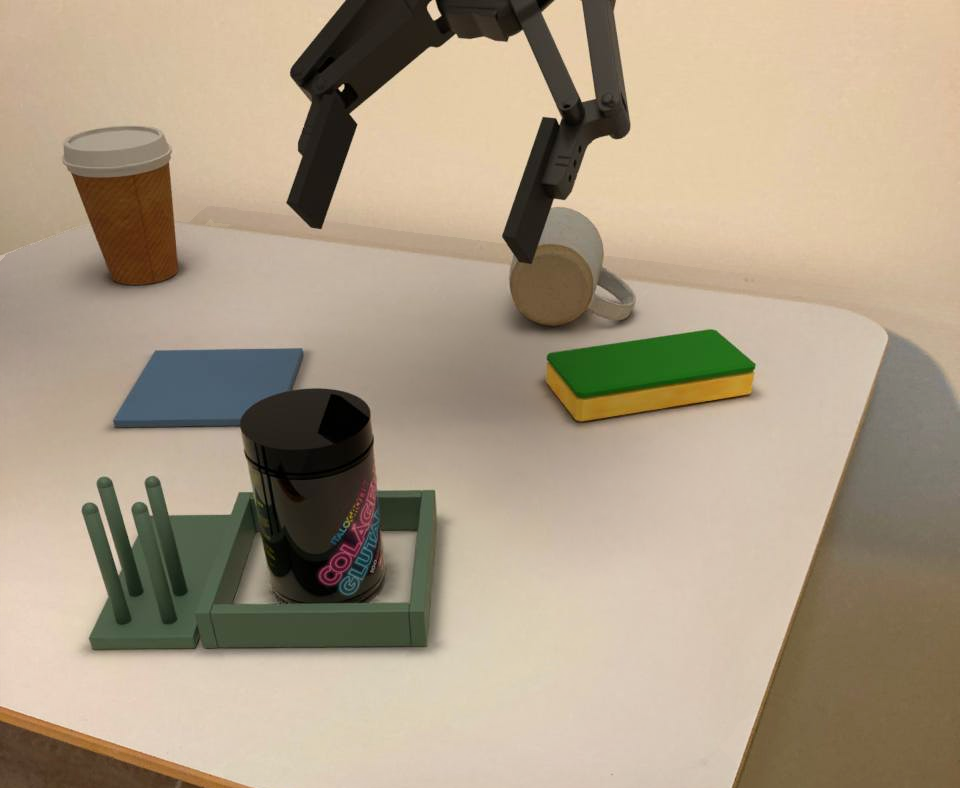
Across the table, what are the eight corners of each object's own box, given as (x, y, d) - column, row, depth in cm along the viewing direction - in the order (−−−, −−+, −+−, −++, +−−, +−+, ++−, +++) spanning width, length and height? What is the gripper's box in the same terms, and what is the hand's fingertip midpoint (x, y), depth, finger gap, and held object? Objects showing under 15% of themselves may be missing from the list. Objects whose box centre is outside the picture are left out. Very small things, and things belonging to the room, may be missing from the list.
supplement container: (304, 632, 56) (276, 463, 50) (249, 574, 61) (217, 412, 54) (409, 587, 59) (396, 422, 53) (349, 535, 64) (330, 376, 57)
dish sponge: (753, 395, 77) (758, 364, 75) (577, 424, 74) (578, 392, 72) (710, 356, 82) (714, 327, 80) (544, 382, 79) (545, 351, 78)
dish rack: (91, 649, 56) (48, 520, 50) (149, 525, 65) (117, 406, 60) (426, 646, 55) (417, 516, 50) (437, 522, 64) (430, 401, 59)
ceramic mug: (505, 329, 87) (507, 236, 82) (515, 292, 93) (516, 203, 88) (633, 335, 86) (642, 241, 81) (634, 297, 92) (642, 207, 87)
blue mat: (114, 427, 75) (112, 420, 75) (156, 357, 84) (155, 350, 84) (279, 425, 75) (278, 417, 74) (303, 354, 84) (302, 347, 84)
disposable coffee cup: (104, 258, 103) (71, 126, 95) (201, 253, 103) (176, 121, 95) (83, 294, 95) (45, 154, 88) (187, 289, 96) (159, 150, 88)
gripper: (761, -72, 55) (635, 300, 55) (371, -82, 65) (261, 236, 65) (743, -197, 49) (599, 228, 48) (310, -187, 58) (186, 168, 58)
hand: (405, 233), depth 56 cm, fingers open, 13 cm apart
